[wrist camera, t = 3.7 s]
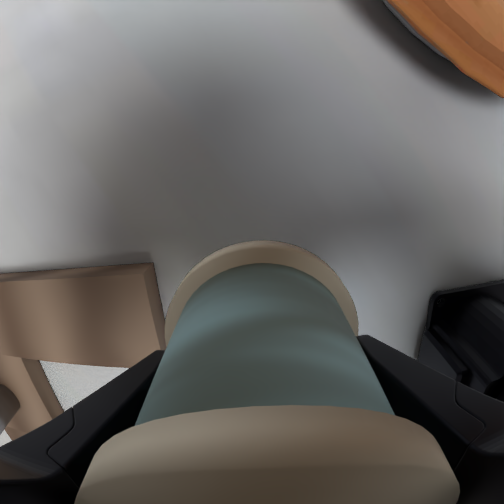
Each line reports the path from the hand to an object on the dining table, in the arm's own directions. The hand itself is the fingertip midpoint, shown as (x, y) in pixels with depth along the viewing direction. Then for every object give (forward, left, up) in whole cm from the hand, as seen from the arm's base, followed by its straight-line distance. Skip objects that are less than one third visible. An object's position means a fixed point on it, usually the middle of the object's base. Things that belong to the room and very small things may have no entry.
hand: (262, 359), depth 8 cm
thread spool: (0, 0, -2) cm, 2 cm away
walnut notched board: (+14, +8, -6) cm, 17 cm away
